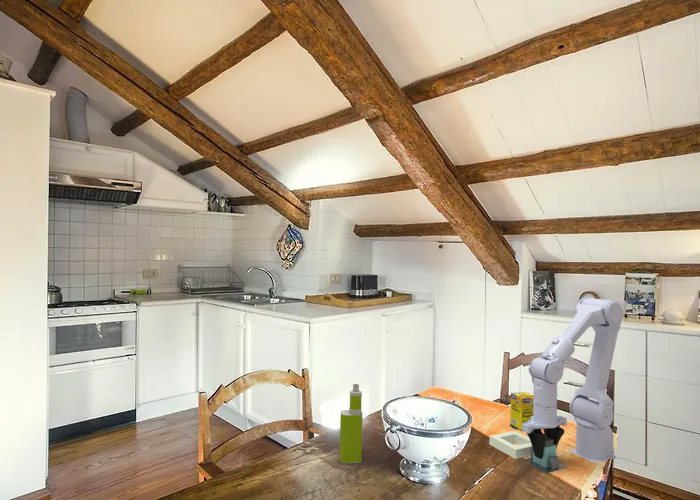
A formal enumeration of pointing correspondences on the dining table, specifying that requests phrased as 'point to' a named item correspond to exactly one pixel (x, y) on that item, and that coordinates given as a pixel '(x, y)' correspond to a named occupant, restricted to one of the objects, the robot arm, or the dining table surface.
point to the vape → (351, 429)
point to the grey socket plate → (553, 467)
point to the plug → (546, 453)
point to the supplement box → (521, 409)
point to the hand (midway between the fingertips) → (544, 455)
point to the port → (505, 445)
